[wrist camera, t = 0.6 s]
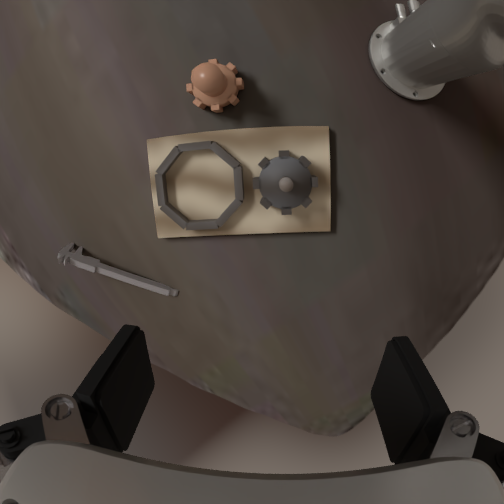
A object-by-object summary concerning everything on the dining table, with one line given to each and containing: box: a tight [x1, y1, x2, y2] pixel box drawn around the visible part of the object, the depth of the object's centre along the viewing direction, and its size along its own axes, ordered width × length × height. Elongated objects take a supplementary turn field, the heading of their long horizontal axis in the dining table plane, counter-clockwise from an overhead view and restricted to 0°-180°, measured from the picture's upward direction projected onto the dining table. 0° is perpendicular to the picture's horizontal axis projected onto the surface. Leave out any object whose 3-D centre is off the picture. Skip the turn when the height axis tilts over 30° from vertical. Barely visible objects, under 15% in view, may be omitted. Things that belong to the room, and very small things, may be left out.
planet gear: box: [187, 59, 244, 113], centre depth 32 cm, size 7×7×8 cm
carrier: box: [147, 126, 331, 238], centre depth 37 cm, size 14×24×6 cm, turn 93°
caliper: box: [58, 243, 178, 296], centre depth 43 cm, size 20×1×6 cm, turn 68°
